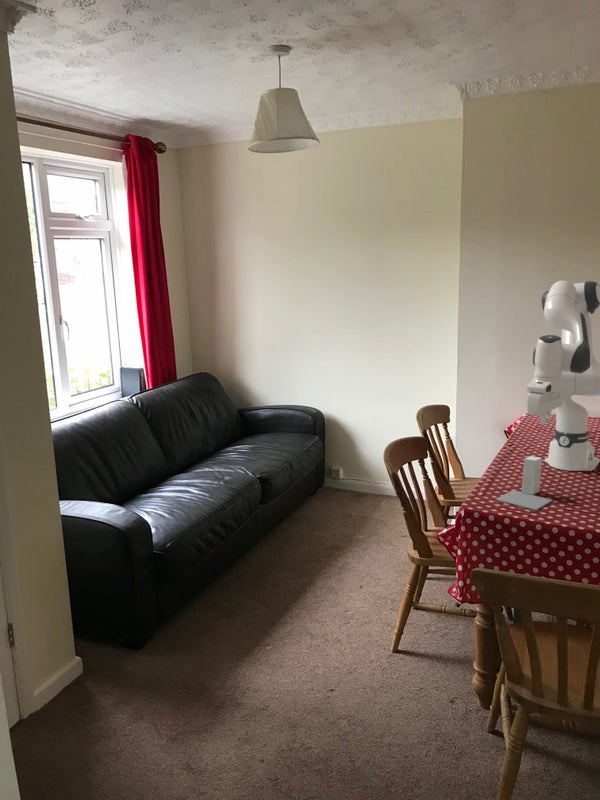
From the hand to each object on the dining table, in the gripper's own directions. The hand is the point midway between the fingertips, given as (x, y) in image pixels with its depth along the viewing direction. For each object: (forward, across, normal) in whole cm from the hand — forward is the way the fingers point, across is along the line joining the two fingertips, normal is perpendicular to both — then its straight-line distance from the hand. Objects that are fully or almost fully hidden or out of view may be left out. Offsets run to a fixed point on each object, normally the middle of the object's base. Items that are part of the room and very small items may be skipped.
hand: (544, 423), depth 229 cm
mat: (+23, +16, +2) cm, 28 cm away
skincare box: (+23, +8, 0) cm, 24 cm away
